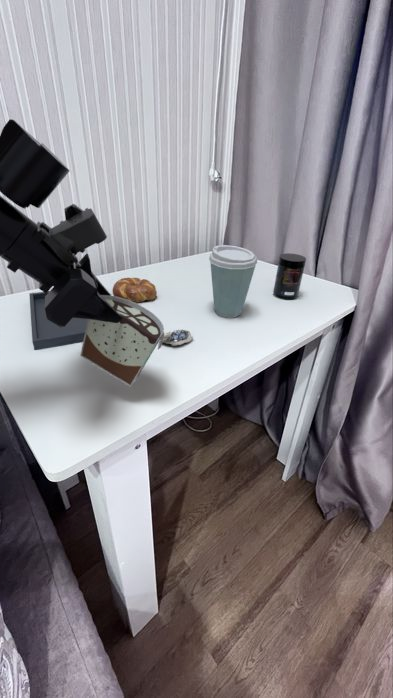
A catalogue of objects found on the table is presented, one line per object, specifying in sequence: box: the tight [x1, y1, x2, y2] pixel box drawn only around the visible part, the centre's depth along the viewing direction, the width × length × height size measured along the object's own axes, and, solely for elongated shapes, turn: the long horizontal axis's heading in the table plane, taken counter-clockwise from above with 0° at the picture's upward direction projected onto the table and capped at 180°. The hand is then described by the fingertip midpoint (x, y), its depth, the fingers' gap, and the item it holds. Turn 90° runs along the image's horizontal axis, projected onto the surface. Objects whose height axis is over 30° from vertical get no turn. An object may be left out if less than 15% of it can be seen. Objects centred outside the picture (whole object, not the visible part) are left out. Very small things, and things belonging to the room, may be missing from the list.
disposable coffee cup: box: [208, 244, 258, 319], centre depth 76 cm, size 11×11×15 cm
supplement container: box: [272, 252, 307, 300], centre depth 87 cm, size 7×7×10 cm
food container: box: [79, 295, 165, 388], centre depth 51 cm, size 12×6×10 cm, turn 65°
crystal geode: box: [162, 329, 194, 347], centre depth 68 cm, size 7×8×2 cm
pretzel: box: [112, 277, 158, 303], centre depth 85 cm, size 12×11×4 cm
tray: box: [28, 290, 88, 351], centre depth 74 cm, size 17×24×2 cm
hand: (116, 311), depth 49 cm, fingers closed on food container, 5 cm apart
